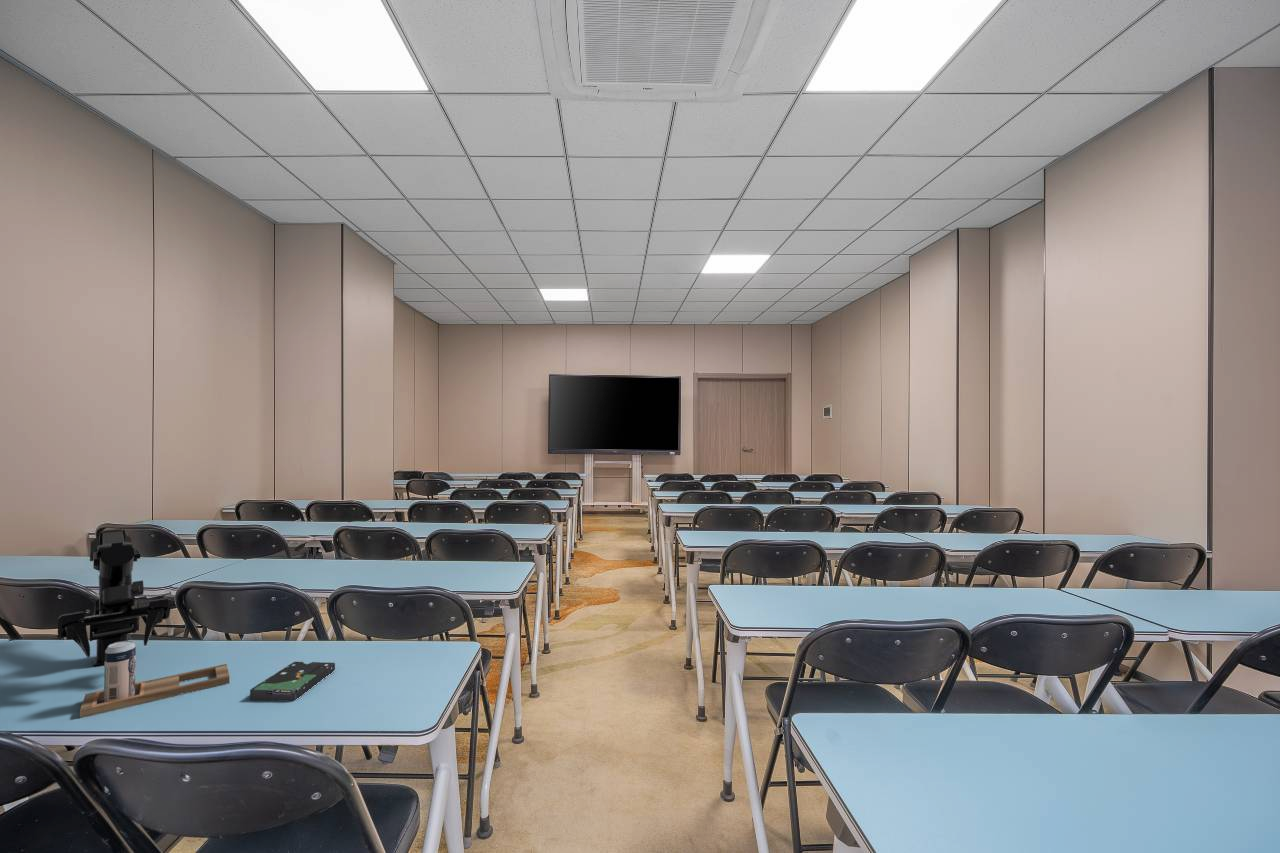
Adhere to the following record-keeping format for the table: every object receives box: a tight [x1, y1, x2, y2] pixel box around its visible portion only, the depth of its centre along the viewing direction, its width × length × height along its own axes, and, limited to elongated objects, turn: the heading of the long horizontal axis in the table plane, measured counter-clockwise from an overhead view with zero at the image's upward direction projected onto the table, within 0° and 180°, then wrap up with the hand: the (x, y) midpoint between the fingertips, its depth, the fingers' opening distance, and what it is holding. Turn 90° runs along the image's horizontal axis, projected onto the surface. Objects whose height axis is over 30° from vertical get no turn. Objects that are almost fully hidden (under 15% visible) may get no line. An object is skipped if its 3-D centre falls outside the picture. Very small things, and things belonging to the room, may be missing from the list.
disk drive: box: [249, 661, 336, 701], centre depth 125 cm, size 10×3×15 cm
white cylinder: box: [103, 640, 137, 703], centre depth 117 cm, size 5×5×12 cm
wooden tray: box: [79, 663, 230, 719], centre depth 121 cm, size 9×24×2 cm, turn 130°
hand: (117, 650), depth 122 cm, fingers open, 9 cm apart
